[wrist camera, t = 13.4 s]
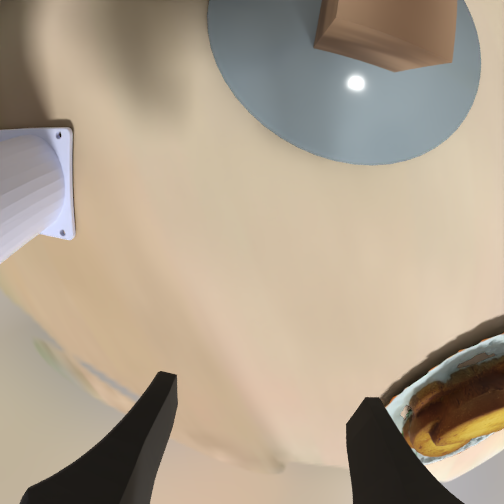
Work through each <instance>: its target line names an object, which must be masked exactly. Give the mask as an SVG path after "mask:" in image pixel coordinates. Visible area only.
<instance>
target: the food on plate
mask: <svg viewBox="0 0 504 504" xmlns="http://www.w3.org/2000/svg"><path fill="white" fill-rule="evenodd" d="M484 352H485V353H486V354H487V355H491V354H493V353H494V354H495V355H496V356H493V357H490V358H487V359H485V360H483V361H481V362H478V363H476V364H474V365H471V366H466V367H463V368H457V366H458V365H459V364H461V363H463V362H465V361H467V360H470V359H472V358H473V357H474V356H475V355H478V354H480V353H484ZM428 372H429V373H428V374H426V375H425V376H423V377H422V378H421V379H419V380H418V381H416V382H415V383H413V384H412V385H411V386H409V387H407V388H405V389H404V391H403V392H402V393H401V394H399V395H397V396H394V397H393V398H392V399H391V401H390V403H389V404H388V405H387V406H385V408H386V410H387V411H388V413H389V415H390V416H391V418H392V419H393V421H394V423H395V424H396V426H397V428H398V429H399V431H400V432H401V434H402V435H403V437H404V438H405V440H406V441H407V443H408V444H409V446H410V447H411V449H412V450H413V452H414V453H415V454H416V456H417V457H418V458H419V460H420V461H421V462H422V463H423V465H427V464H431V463H434V462H437V461H441V460H443V459H445V458H448V457H451V456H454V455H456V454H459V453H461V452H462V451H464V450H466V449H468V448H470V447H472V446H475V445H476V444H478V443H479V442H481V441H482V440H484V439H486V438H487V437H489V436H490V435H492V434H494V433H495V432H497V431H500V430H502V429H503V428H504V332H503V333H502V334H500V335H497V336H495V337H491V338H487V339H484V340H482V341H481V342H480V343H479V344H478V345H475V346H472V347H470V348H467V349H463V350H459V351H458V353H457V354H454V355H452V356H450V357H449V358H447V359H446V360H445V361H444V362H442V363H441V364H440V365H437V366H435V367H434V368H432V369H431V370H429V371H428ZM407 405H409V406H410V407H411V408H412V410H409V413H407V414H406V417H407V418H406V419H405V420H403V419H404V418H403V417H402V416H401V415H400V413H401V412H402V411H403V409H404V407H405V406H407Z"/></svg>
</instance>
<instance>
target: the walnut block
mask: <svg viewBox="0 0 504 504" xmlns="http://www.w3.org/2000/svg"><path fill="white" fill-rule="evenodd" d="M456 18H457V0H322V2H321V8H320V14H319V19H318V25H317V30H316V36H315V41H314V46H313V48H315V49H319V50H323V51H327V52H331V53H335V54H338V55H342V56H346V57H349V58H352V59H356V60H359V61H362V62H365V63H369V64H372V65H375V66H378V67H380V68H383V69H386V70H389V71H392V72H394V73H395V72H399V71H404V70H410V69H415V68H421V67H427V66H433V65H439V64H446V63H452V60H453V52H454V42H455V32H456Z"/></svg>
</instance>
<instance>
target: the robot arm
mask: <svg viewBox="0 0 504 504" xmlns="http://www.w3.org/2000/svg"><path fill="white" fill-rule="evenodd" d="M59 132H61V138H60V137H59ZM72 144H73V132H72V130H71V129H70V128H69V127H44V128H21V129H5V130H0V264H1V263H2V262H3V261H4V260H6V259H7V258H8V257H9V256H11V255H12V254H13V253H14V252H16V251H17V250H18V249H20V248H21V247H22V246H23V245H25V244H26V243H27V242H29V241H30V240H31V239H33V238H34V237H35V236H37V235H38V234H43V235H47V236H52V237H57V238H61V239H66V240H71V239H73V238H74V237H75V221H74V206H73V182H72ZM63 230H64V232H65V234H64V232H63ZM177 406H178V399H177V375H176V374H171V373H167V372H163V371H160V372H158V373H157V375H156V376H155V378H154V379H153V381H152V382H151V384H150V385H149V387H148V388H147V389H146V391H145V392H144V393H143V395H142V396H141V397H140V399H139V400H138V401H137V402H136V404H135V405H134V406H133V407H132V408H131V410H130V411H129V412H128V413H127V414H126V415H125V417H124V418H123V419H122V420H121V421H120V422H119V423H118V424H117V425H116V426H115V427H114V428H113V429H112V430H111V431H110V432H109V433H108V434H107V435H106V436H105V437H104V438H103V439H102V440H101V441H100V442H99V443H97V444H96V445H95V446H94V447H93V448H92V449H90V450H89V451H88V452H87V453H85V454H84V455H83V456H81V457H80V458H79V459H77V460H76V461H75V462H73V463H72V464H70V465H69V466H67V467H66V468H64V469H62V470H61V471H59V472H58V473H56V474H54V475H53V476H51V477H49V478H47V479H46V480H43V481H41V482H39V483H37V484H35V485H33V486H31V487H29V488H28V489H27V491H26V492H25V494H24V495H23V497H22V499H21V502H20V504H150V499H151V494H152V490H153V485H154V480H155V477H156V474H157V471H158V468H159V465H160V462H161V459H162V456H163V454H164V451H165V448H166V445H167V442H168V439H169V436H170V433H171V431H172V428H173V423H174V419H175V414H176V410H177ZM346 444H347V454H348V461H349V468H350V476H351V482H352V492H353V504H464V503H463V502H462V501H460V500H459V499H457V498H456V497H455V496H454V495H453V494H451V493H450V492H449V491H448V490H447V489H446V488H445V487H444V486H443V485H442V484H441V483H440V482H439V481H438V480H437V479H436V478H435V477H434V476H433V475H432V474H431V473H430V472H429V471H428V469H427V468H426V467H425V466H424V465H423V463H422V462H421V461H420V460H419V458H418V457H417V456H416V454H415V453H414V452H413V450H412V449H411V447H410V446H409V444H408V443H407V441H406V440H405V438H404V437H403V435H402V434H401V432H400V431H399V429H398V428H397V426H396V424H395V423H394V421H393V419H392V418H391V416H390V415H389V413H388V411H387V410H386V408H385V407H384V405H383V403H382V402H381V400H380V399H379V397H365V399H364V400H363V402H362V403H361V404H360V406H359V407H358V409H357V410H356V412H355V413H354V414H353V416H352V417H351V418H350V420H349V421H348V422H347V424H346Z"/></svg>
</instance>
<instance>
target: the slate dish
mask: <svg viewBox="0 0 504 504" xmlns="http://www.w3.org/2000/svg"><path fill="white" fill-rule="evenodd" d="M321 2H322V0H209V6H208V13H207V18H208V34H209V40H210V45H211V49H212V52H213V55H214V58H215V61H216V64H217V66H218V68H219V70H220V72H221V74H222V76H223V78H224V80H225V82H226V83H227V85H228V86H229V88H230V89H231V91H232V92H233V94H234V95H235V97H236V98H237V99H238V100H239V101H240V102H241V104H242V105H243V106H244V107H245V108H246V109H247V110H248V112H249V113H250V114H252V115H253V116H254V117H255V118H256V119H257V120H258V121H259V122H260V123H262V124H263V125H264V126H265V127H266V128H268V129H269V130H271V131H272V132H273V133H275V134H276V135H278V136H279V137H280V138H282V139H284V140H286V141H287V142H289V143H291V144H293V145H295V146H296V147H298V148H300V149H303V150H305V151H307V152H310V153H312V154H314V155H317V156H320V157H324V158H327V159H330V160H334V161H338V162H344V163H350V164H358V165H383V164H392V163H397V162H402V161H406V160H409V159H412V158H415V157H418V156H421V155H423V154H425V153H426V152H428V151H430V150H432V149H434V148H436V147H437V146H438V145H440V144H441V143H442V142H444V141H445V140H447V139H448V138H449V137H450V136H451V135H452V134H453V133H454V132H455V131H456V130H457V129H458V127H459V126H460V125H461V123H462V122H463V120H464V119H465V118H466V116H467V114H468V112H469V110H470V108H471V107H472V105H473V102H474V99H475V96H476V93H477V90H478V85H479V80H480V71H481V54H480V45H479V40H478V35H477V31H476V28H475V25H474V22H473V19H472V16H471V14H470V12H469V9H468V7H467V5H466V3H465V1H464V0H457V18H456V32H455V42H454V52H453V60H452V63H446V64H439V65H433V66H427V67H421V68H415V69H410V70H404V71H399V72H395V73H394V72H392V71H389V70H386V69H383V68H380V67H378V66H375V65H372V64H369V63H365V62H362V61H359V60H356V59H352V58H349V57H346V56H342V55H338V54H335V53H331V52H327V51H323V50H319V49H315V48H313V46H314V41H315V36H316V30H317V25H318V19H319V14H320V8H321Z"/></svg>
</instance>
